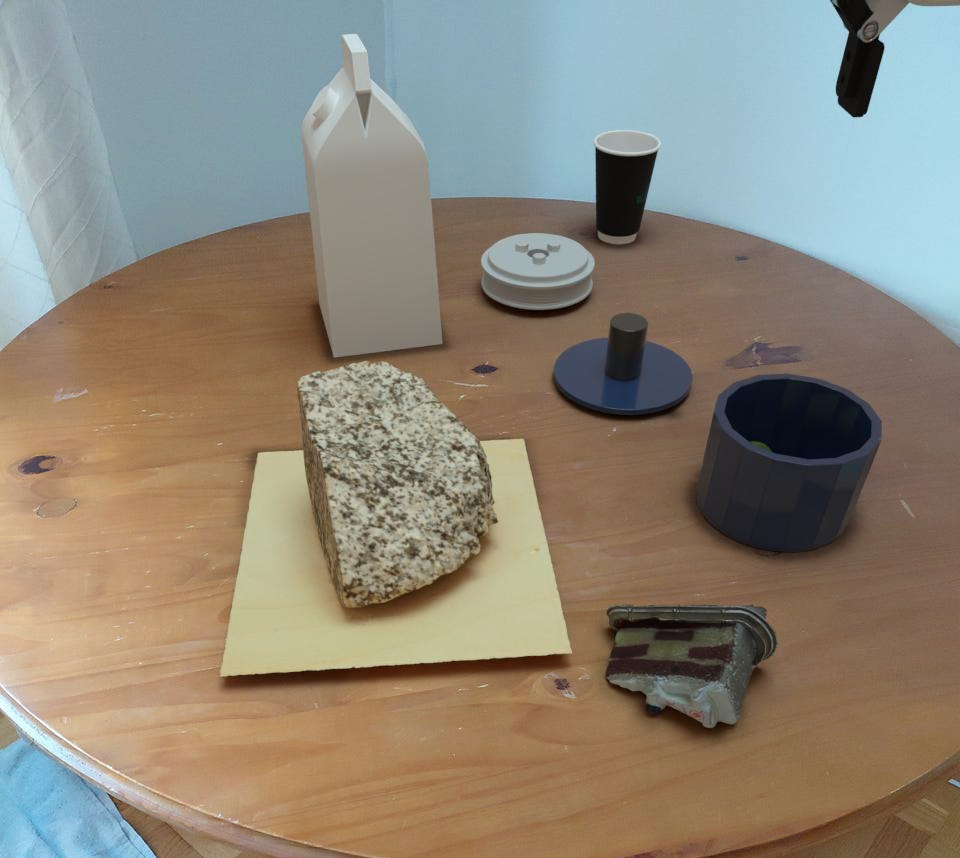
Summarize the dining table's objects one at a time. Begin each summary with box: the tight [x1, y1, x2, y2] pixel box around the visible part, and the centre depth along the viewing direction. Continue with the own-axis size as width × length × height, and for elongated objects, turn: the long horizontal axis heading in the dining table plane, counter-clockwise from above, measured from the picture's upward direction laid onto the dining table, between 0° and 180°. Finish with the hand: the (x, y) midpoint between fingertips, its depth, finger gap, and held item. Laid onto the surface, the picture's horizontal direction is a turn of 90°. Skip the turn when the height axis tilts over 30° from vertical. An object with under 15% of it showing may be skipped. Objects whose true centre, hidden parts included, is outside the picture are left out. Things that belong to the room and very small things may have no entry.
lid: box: [480, 232, 596, 311], centre depth 100 cm, size 13×13×5 cm
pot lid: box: [553, 312, 693, 416], centre depth 86 cm, size 14×14×6 cm
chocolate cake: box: [605, 603, 779, 729], centre depth 60 cm, size 10×7×12 cm
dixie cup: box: [592, 129, 662, 245], centre depth 108 cm, size 8×8×11 cm
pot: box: [695, 373, 883, 553], centre depth 72 cm, size 13×13×8 cm
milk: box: [301, 33, 444, 359], centre depth 87 cm, size 12×12×26 cm
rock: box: [219, 360, 573, 677], centre depth 70 cm, size 28×22×16 cm
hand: (924, 106), depth 56 cm, fingers open, 9 cm apart
